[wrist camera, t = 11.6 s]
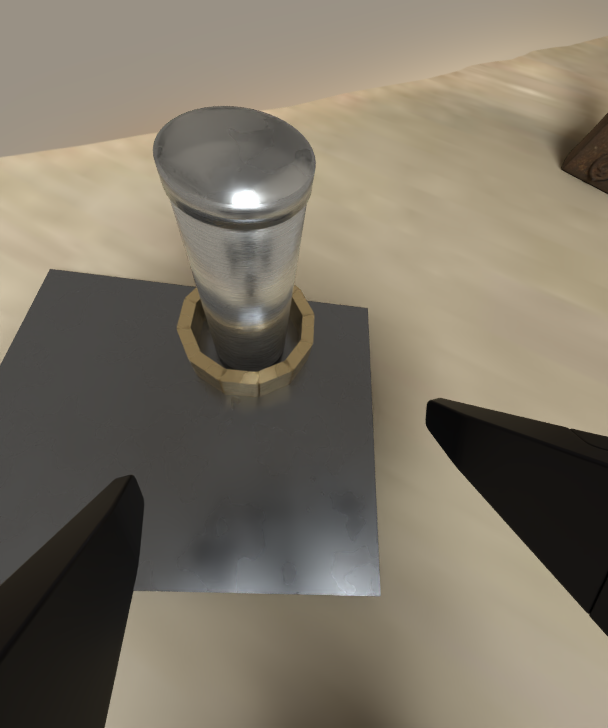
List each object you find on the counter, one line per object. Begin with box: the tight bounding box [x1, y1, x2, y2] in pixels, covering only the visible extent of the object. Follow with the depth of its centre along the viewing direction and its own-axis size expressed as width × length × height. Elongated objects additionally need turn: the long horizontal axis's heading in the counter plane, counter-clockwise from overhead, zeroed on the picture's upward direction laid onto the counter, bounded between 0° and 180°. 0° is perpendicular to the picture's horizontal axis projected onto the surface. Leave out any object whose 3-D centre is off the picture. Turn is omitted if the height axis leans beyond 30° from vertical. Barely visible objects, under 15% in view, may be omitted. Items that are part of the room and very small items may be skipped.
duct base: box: [0, 269, 381, 596], centre depth 18 cm, size 19×24×3 cm
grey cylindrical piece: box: [153, 106, 316, 372], centre depth 16 cm, size 5×5×13 cm
